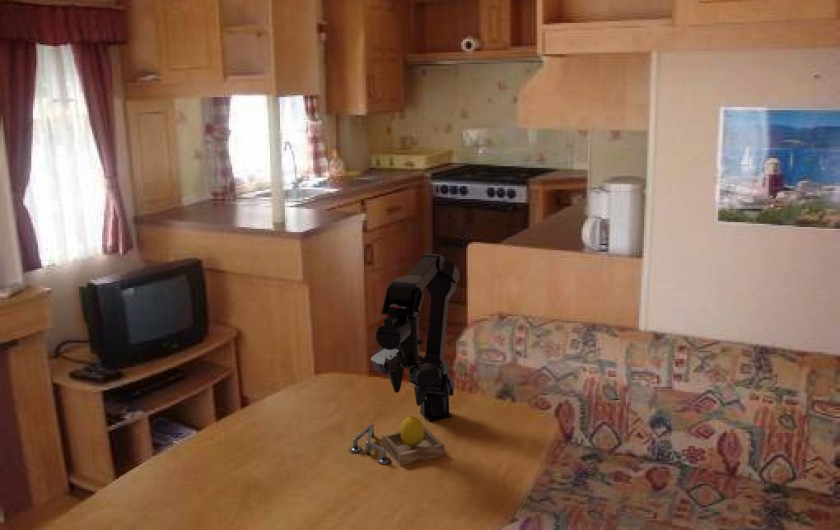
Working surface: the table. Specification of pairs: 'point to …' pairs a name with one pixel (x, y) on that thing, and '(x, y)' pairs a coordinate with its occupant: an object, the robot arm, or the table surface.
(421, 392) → the robot arm
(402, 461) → the tray
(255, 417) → the table surface
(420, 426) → the lemon
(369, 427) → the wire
